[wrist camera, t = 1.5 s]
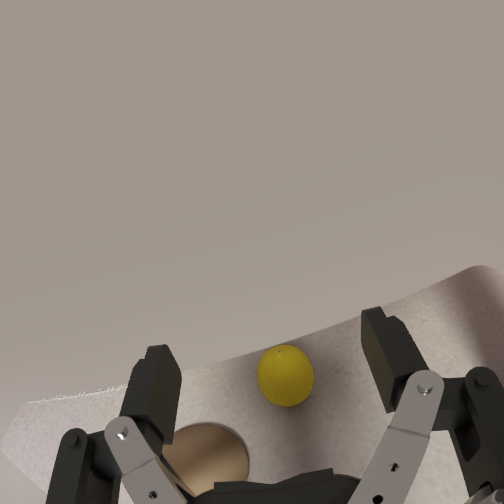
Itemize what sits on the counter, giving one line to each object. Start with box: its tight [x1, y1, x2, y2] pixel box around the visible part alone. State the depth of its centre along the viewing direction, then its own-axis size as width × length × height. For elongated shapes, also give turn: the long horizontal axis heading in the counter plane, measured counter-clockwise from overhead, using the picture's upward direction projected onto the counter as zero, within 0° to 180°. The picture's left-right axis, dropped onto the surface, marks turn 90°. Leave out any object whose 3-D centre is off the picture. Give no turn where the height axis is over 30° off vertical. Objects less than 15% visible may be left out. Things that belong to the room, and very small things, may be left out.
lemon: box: [257, 345, 314, 407], centre depth 30 cm, size 6×6×8 cm
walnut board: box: [162, 425, 249, 496], centre depth 26 cm, size 10×10×1 cm
